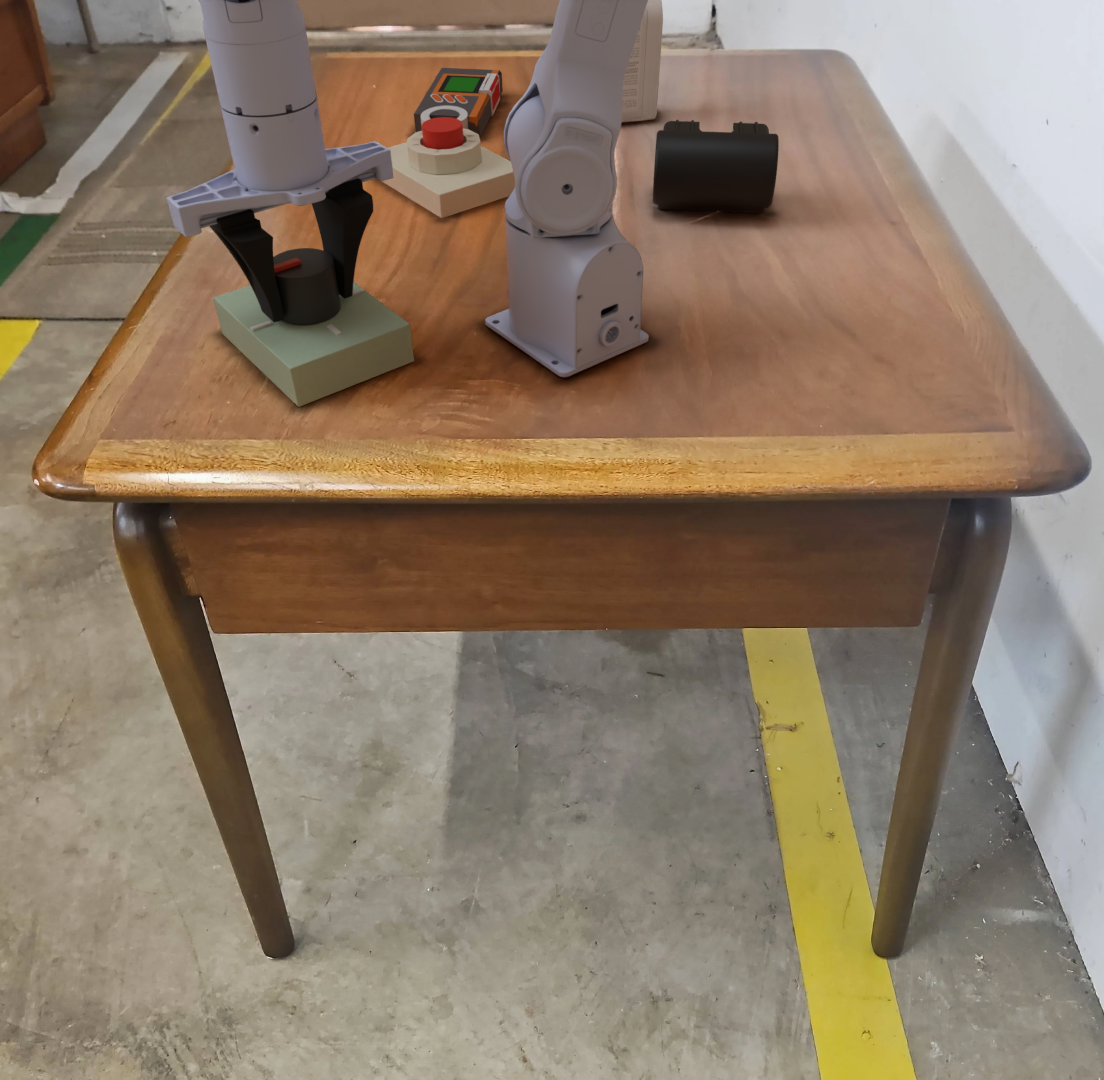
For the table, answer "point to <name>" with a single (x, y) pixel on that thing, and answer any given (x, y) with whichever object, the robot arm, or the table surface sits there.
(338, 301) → the dial
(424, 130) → the power button
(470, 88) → the electronic device
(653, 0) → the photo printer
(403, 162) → the button box
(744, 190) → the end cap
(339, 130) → the table surface
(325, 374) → the dial panel
